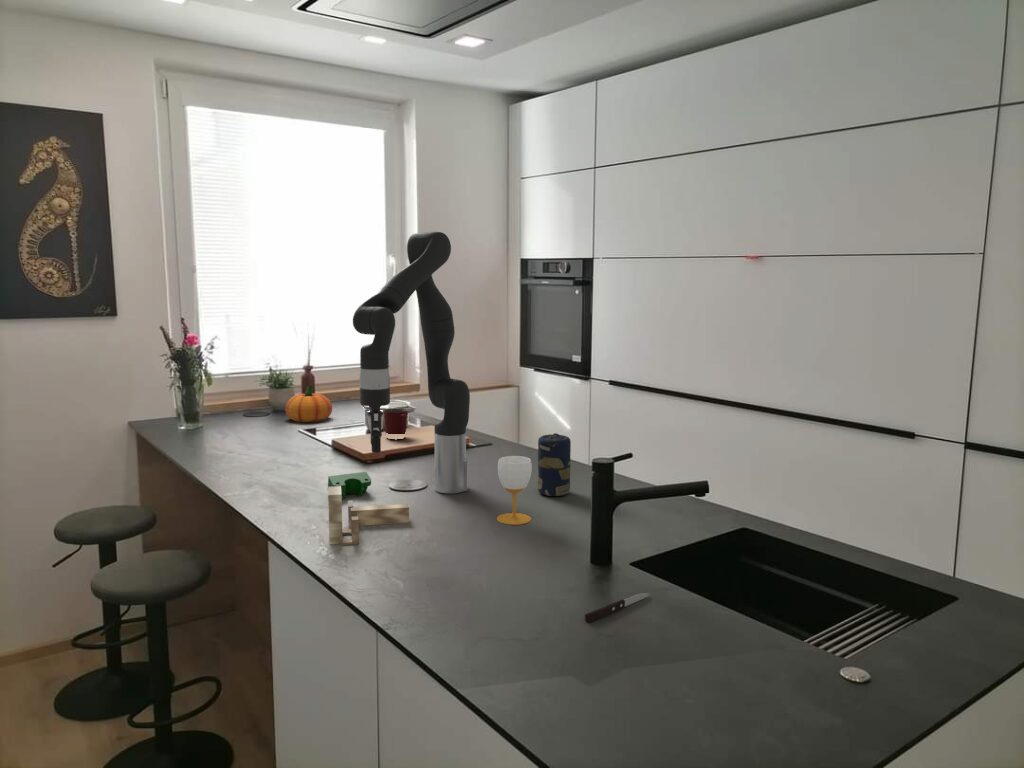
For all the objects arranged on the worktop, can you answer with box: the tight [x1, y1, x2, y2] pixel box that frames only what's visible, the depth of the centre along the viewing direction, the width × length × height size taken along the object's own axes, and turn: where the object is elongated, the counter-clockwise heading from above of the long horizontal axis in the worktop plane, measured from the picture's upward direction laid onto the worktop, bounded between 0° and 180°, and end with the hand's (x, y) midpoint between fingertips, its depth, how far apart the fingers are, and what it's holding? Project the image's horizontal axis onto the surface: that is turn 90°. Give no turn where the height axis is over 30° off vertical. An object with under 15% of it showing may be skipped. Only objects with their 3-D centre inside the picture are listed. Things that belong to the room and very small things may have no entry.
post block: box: [327, 486, 360, 546], centre depth 176 cm, size 7×9×12 cm
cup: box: [496, 455, 533, 526], centre depth 191 cm, size 9×9×16 cm
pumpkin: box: [284, 385, 333, 423], centre depth 318 cm, size 19×19×15 cm
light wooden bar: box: [347, 500, 410, 529], centre depth 189 cm, size 15×5×6 cm, turn 104°
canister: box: [537, 432, 572, 497], centre depth 214 cm, size 10×10×18 cm
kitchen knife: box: [584, 592, 650, 624], centre depth 141 cm, size 18×1×2 cm, turn 130°
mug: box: [383, 407, 408, 434], centre depth 284 cm, size 12×9×11 cm
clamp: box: [327, 471, 372, 500], centre depth 211 cm, size 12×6×9 cm, turn 113°
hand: (375, 448), depth 188 cm, fingers open, 8 cm apart
